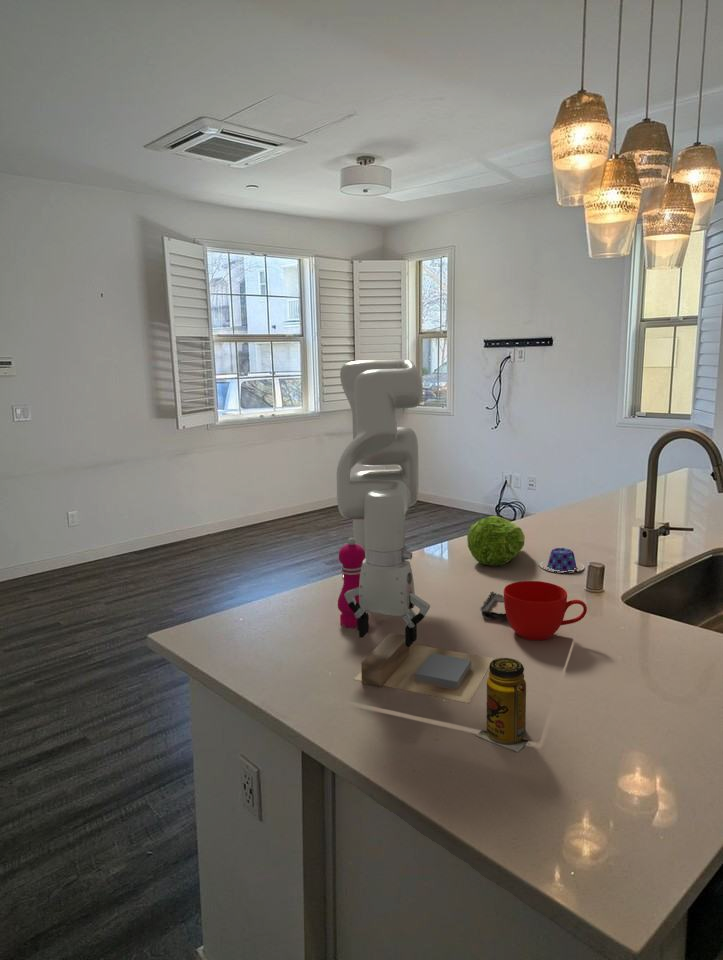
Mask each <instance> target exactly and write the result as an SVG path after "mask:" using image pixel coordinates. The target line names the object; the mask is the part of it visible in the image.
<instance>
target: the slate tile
mask: <svg viewBox="0 0 723 960" xmlns="http://www.w3.org/2000/svg"><path fill="white" fill-rule="evenodd" d="M470 668H471V660H468V659H463V658H457V657H451V656H446V655H440V654H435V653H431V654H430V655H429V656H428V657H427V659H426V660H425V661H424V662H423V664H422V665H421V666H420V668H419V669H418V670H417V671H416V673H415V681H416V682H417V683H422V684H427V685H432V686H437V687H442V688H447V689H452V690H457V689H458V688H459V686H460V684H461V683H462V681H463V679H464V678H465V676H466V675H467V673H468V671H469V670H470Z"/></svg>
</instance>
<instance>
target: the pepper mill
mask: <svg viewBox="0 0 723 960" xmlns="http://www.w3.org/2000/svg"><path fill="white" fill-rule="evenodd" d="M364 559H365V551H364V549H363V548H362V547H361V546H359V545H357V544H355V539H354V537H349V538H348V539H347V544H345V545H343V546H341V548H340V550H339V552H338V560H339V562H340V564H341V566H340V568H341V569H340V571H341V573H343V575H344V581H343V585H342V587H341V588H342V589H341V591H340V593H339V595H338V598H337V609H338V611H339V612H340V615H339V618H340V620H339V621H340V624H341V625H342V626H343V627H347V628H358V627H357V618H356V617H355V613H354V612H353V611H352V610H351V609H350V608H349V604H348V602H347V600H346V598H345V596H344V594H345V593H346V592H347V591H349V590H352V589H354V588H357V587H359V581H360V573H361V567H362V562H363V560H364ZM354 597H355V600H356V601H357V602H358V603H359V595H356V596H354Z"/></svg>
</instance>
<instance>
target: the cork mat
mask: <svg viewBox="0 0 723 960" xmlns="http://www.w3.org/2000/svg"><path fill="white" fill-rule="evenodd" d="M431 653H435V654H440V655H446V656H451V657H457V658H463V659H468V660H471V668H470V670H469V671H468V673H467V675H466V676H465V678H464V679H463V681H462V683H461V684H460V686H459V688H458V689H457V690H452V689H447V688H442V687H437V686H432V685H427V684H422V683H417V682H416V681H415V673H416V671H417V670H418V669H419V668H420V666H421V665H422V664H423V662H424V661H425V660H426V659H427V657H428V656H429V655H430V654H431ZM493 660H495V657H488V656H485V655H477V654H473V653H466V652H461V651H455V650H454V651H453V650H448V649H444V648H443V649H442V648H436V647H431V646H426V645H425V646H424V645H419V644H415V643H412V645H411V646H410V647H409V656H408V657H407V658H406V659H405V660H404V662H403V663H402V664H401V665H400V666H399V667H398V669H397V670H396V671H395V672H394V673H393V675H392V676H391V677H390V678H389V679H388V680H387V682H386V683H385V684H384V685H383V686H384V687H389V688H393V689H398V690H402V691H407V692H413V693H418V694H422V695H428V696H433V697H435V698H436V697H437V698H442V699H446V700H452V701H455V702H456V701H457V702H461V703H465V704H470V702H471V700H472V699H473V697H474V695H475V694H476V691H477V690H478V689H479V686H480V684H481V682H482V681H483V679H484V677H485V675H486V674H487V672H488V670H489V669H490V668H489V666H490V663H491V662H492V661H493ZM353 680H354V681H360V682H362V673H361V671H360V672H359V673H358V674H357V675H356V676H355V677H354V678H353ZM383 686H382V687H383Z"/></svg>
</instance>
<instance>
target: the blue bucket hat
mask: <svg viewBox="0 0 723 960" xmlns="http://www.w3.org/2000/svg"><path fill="white" fill-rule="evenodd" d="M548 557H549V558H548V559H546V560H543V561H541V562H540V563H539V566H540V567H541V568H542V569H544V570H546V571H549V572H551V571H550V570H551V569H550V570H547V569H545V568H543V566H542V564H543V562H545V561H548V560H549V561H548V564H547V566H546V567H549V568H552V569H554V570H560V571H568V570H574V568H577V566H576V562H577V563H579V562H578V561H576V557H575V553H574V552H573V550H571V549H569V548H567V547H565V548H564V547H555V548H553V549H552V550H551V551H550V554H549V556H548ZM580 564H581V565H582V566H583V568H582V569H581V570H580V571H577V572H576V573H578V572H581V571H583V570H584V569H585V566H584V565H583V564H582V563H580ZM560 571H558V573H563V574H565V573H564V572H560ZM552 572H553V573H554V571H552ZM568 572H569V573H568V574H570V573H571V574H572V573H574V572H570V571H568Z"/></svg>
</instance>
